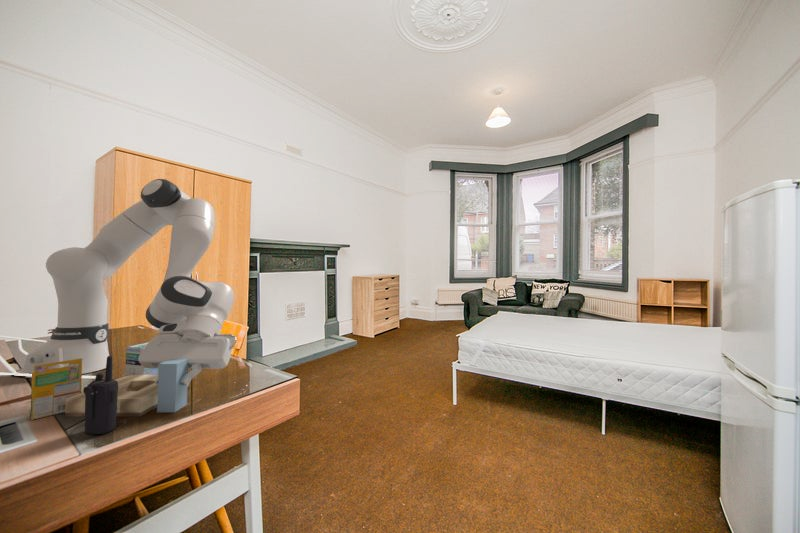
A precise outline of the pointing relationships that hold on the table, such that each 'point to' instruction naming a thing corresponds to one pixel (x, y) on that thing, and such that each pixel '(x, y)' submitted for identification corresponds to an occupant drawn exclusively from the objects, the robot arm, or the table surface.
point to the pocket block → (124, 397)
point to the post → (172, 385)
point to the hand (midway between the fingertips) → (171, 384)
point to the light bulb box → (137, 362)
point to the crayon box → (54, 387)
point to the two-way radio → (101, 402)
